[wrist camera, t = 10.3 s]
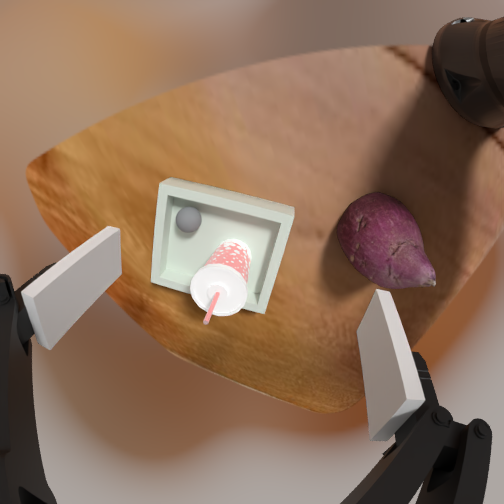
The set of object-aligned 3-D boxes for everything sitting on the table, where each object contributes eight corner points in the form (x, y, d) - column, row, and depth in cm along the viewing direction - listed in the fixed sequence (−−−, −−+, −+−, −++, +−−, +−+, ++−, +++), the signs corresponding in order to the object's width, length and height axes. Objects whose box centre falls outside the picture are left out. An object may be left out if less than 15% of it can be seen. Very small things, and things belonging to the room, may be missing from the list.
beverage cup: (221, 224, 38) (185, 282, 25) (265, 246, 38) (250, 313, 25) (204, 263, 40) (166, 328, 28) (245, 283, 41) (223, 355, 28)
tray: (294, 207, 36) (294, 216, 33) (266, 299, 43) (264, 314, 39) (170, 177, 37) (159, 183, 34) (160, 269, 43) (150, 282, 40)
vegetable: (404, 193, 37) (484, 217, 22) (394, 265, 40) (462, 313, 26) (336, 187, 35) (408, 211, 21) (329, 267, 38) (386, 327, 24)
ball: (206, 206, 37) (199, 214, 34) (202, 229, 38) (195, 239, 35) (182, 200, 37) (173, 208, 34) (179, 223, 38) (170, 233, 35)
